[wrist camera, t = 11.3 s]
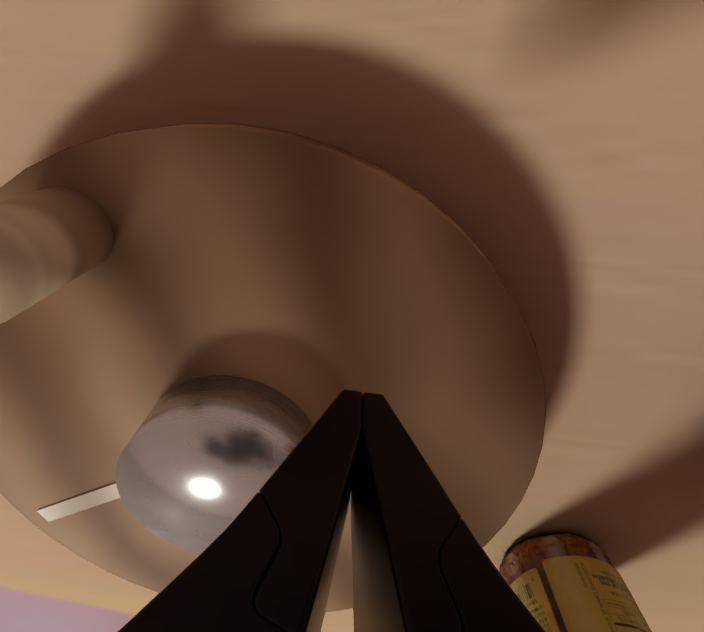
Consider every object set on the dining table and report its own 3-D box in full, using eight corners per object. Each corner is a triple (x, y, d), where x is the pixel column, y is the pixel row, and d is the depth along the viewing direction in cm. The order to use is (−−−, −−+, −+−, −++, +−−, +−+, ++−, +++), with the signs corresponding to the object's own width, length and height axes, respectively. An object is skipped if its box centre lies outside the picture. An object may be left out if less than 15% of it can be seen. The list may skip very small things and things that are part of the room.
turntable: (397, -43, 11) (414, -149, 6) (588, 521, 21) (655, 655, 16) (-163, 296, 17) (-386, 380, 12) (188, 617, 26) (145, 738, 22)
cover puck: (261, 348, 15) (242, 391, 13) (349, 477, 18) (345, 531, 16) (112, 411, 17) (73, 458, 15) (213, 520, 20) (192, 574, 17)
